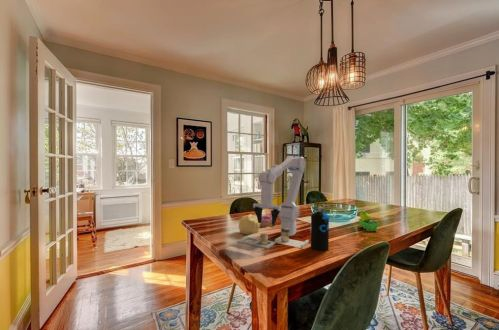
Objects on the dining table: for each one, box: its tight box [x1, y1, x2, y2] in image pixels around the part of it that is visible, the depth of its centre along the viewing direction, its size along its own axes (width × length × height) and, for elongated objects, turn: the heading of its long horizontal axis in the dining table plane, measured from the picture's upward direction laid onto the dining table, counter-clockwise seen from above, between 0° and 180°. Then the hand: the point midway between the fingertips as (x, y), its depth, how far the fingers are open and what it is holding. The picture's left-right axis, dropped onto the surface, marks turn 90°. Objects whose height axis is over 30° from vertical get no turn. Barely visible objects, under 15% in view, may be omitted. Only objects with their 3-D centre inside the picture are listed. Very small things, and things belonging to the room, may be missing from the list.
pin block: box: [237, 235, 277, 249], centre depth 114 cm, size 8×16×2 cm, turn 58°
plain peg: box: [280, 227, 290, 242], centre depth 117 cm, size 4×4×6 cm
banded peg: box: [259, 232, 269, 246], centre depth 113 cm, size 4×4×6 cm
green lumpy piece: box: [358, 210, 380, 232], centre depth 147 cm, size 11×9×11 cm
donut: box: [259, 215, 275, 228], centre depth 154 cm, size 14×14×5 cm
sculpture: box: [238, 213, 261, 236], centre depth 134 cm, size 12×12×11 cm
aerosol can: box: [310, 206, 330, 252], centre depth 108 cm, size 8×8×20 cm
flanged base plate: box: [274, 235, 310, 249], centre depth 115 cm, size 9×14×3 cm, turn 58°
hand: (266, 223), depth 117 cm, fingers open, 7 cm apart
